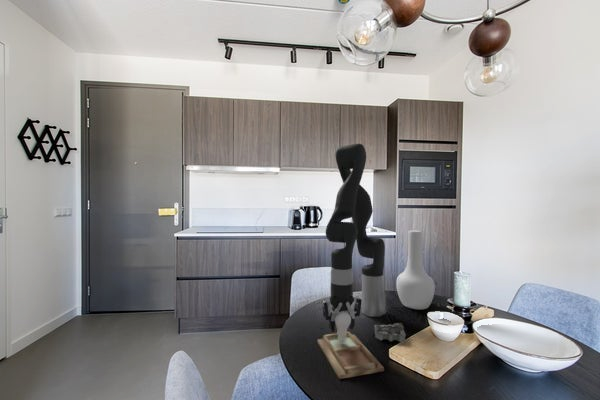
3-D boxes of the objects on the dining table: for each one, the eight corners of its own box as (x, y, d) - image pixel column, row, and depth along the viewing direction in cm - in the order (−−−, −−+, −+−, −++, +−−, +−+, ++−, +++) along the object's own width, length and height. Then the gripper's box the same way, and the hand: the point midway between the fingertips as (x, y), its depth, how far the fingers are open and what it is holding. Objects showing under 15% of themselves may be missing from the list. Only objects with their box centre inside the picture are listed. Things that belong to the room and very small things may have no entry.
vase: (398, 310, 122) (398, 232, 122) (394, 296, 139) (394, 228, 138) (439, 313, 119) (439, 233, 118) (429, 299, 135) (429, 229, 134)
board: (354, 337, 99) (353, 330, 99) (383, 371, 80) (383, 362, 80) (317, 342, 96) (317, 335, 96) (339, 379, 76) (339, 370, 76)
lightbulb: (350, 347, 89) (350, 314, 89) (332, 345, 90) (332, 312, 90) (351, 338, 95) (351, 306, 95) (333, 336, 96) (333, 305, 96)
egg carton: (403, 333, 102) (403, 323, 102) (406, 344, 95) (406, 332, 95) (374, 330, 104) (374, 319, 104) (374, 340, 97) (374, 329, 97)
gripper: (356, 275, 97) (356, 322, 98) (318, 279, 94) (318, 327, 94) (366, 282, 90) (366, 332, 90) (325, 285, 87) (325, 338, 87)
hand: (341, 329), depth 92 cm, fingers closed on lightbulb, 6 cm apart
